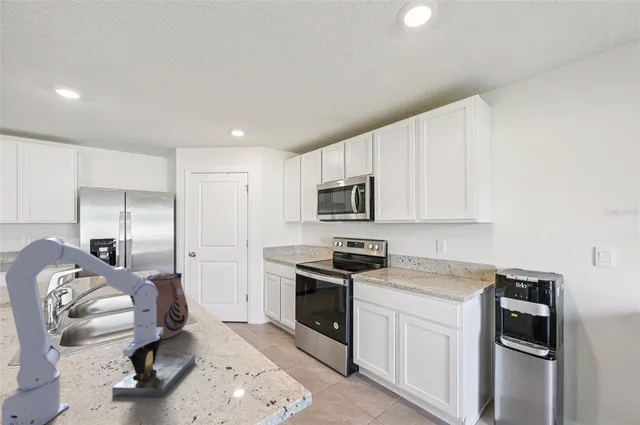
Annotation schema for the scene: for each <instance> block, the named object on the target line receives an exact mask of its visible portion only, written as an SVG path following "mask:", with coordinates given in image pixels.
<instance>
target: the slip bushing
mask: <svg viewBox="0 0 640 425" xmlns="http://www.w3.org/2000/svg"><path fill="white" fill-rule="evenodd" d="M146 349H149V352H148V354H147V357H146V362H145V370H144V373H143V374H137V379H142V380H146V379H149V378H148V377H150V376H151V375H152V374H153V349H152V348H146Z"/></svg>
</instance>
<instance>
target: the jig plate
mask: <svg viewBox="0 0 640 425" xmlns="http://www.w3.org/2000/svg"><path fill="white" fill-rule="evenodd" d="M195 363H196V354H171V353H169V354H163V353H161V354H159V353H157V355H156V359H155V363H154V364H153V374H152V375H151V376H150V377H148V378H146V379H137V374H136V373H135V370H134V369H133V371H132V372H131V371H130V373H129V374H127V375H126V376H125V377H124V378H122V379H121V380H119V382H118V383H116V384H115V385H113V387H112V389H111V390H112V394H111V396H112V398H113V397H115V398H116V397H119V398H120V397H121V398H157V397H158V398H163V397H165V395H167V393H169V391H170V390H171V388H173V387H174V386H175V385H176V383H178V381H180V379H181V378H182V377H183V376H184V375H185V374H186V373H187V372H188V370H189V369H190V368H191V367H192V366H193V365H194V364H195ZM172 386H173V387H172Z"/></svg>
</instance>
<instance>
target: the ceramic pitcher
mask: <svg viewBox="0 0 640 425" xmlns="http://www.w3.org/2000/svg"><path fill="white" fill-rule="evenodd" d="M182 276H183V273H182V272H174V273H170V272H159V273H156V274H151V275H148V276H147V277H146V278H147V280H150V281H151V282H152V283H154V285H155V286H156V288H157V292H158V296H157V298H156V328H157V327H160V328H163V334H162V335H159V336H160V338H163V340H164V339H170V338H172V337H174V336H176V335H177V334H179V333H181V331H182V330H183V328H184V327H185V325H186V324H187V322H188V318H189V308H188V302H187V298H186V295H185V292H184V289H183V288H184V287H183V285H182ZM129 297H130V299H131V302H132V304H133V306H134V307H135V299H134V296H131V295H129Z"/></svg>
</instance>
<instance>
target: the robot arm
mask: <svg viewBox="0 0 640 425" xmlns="http://www.w3.org/2000/svg"><path fill="white" fill-rule="evenodd" d="M57 260H60V261H59V263H58V264H60V265H64V264H66V265H67V264H68V265H69V264H74V265H78V266H79V267H82V268H83V269H85V270H88V271H90V272H93V273H94V274H96V275H99V276H100V277H103V278H105V281H106V282H105V283H106V285H107V286H108V287H110V288H113V289H114V290H117V291H118V292H121V293H122V294H125V295H127V296H130V295H131V296H134V299H135V306H134V307H133V339H132V340H131V341H130V342H129V344H128V345H127V346H126V347H125V348H123V357H127V358H128V359H129V360H130V362H131V364H132V366H133V371H134V370H135V373H136V374H143V373H144V370H145V362H146V357H147V354H148V352H149V349H146V348H152V349H153V364H154V363H155V359H156V355H157V354H158V351H159V348H160V346H161V344H162V343H163V340H164V339H163V338H160V336H159V335H162V334H163V328H160V327H157V328H156V298H157V296H158V292H157V288H156V286H155V285H154V283H152V282H151V281H150V280H147V277H145V276H143V277H142V276H140V275H138V274H137V273H135V272H134V271H132V270H133V269H132V268H131V267H129V266H127V267H124V266H119V267H113V266H112V265H110V264H109V263H107V262H105V261H103V260H102V259H100V258H99V257H98V256H97V257H96V256H95V255H94V254H92V253H90V252H89V251H86V250H85V249H83V248H81V247H80V246H77V245H75V244H73V243H70V242H69V241H68V242H67V241H66V242H65V241H64V240H63V239H62V238H60V237H57V236H47V237H42V238H40V239H36V240H34V241H31V242H30V243H29V244H28V245H26V246H24V247H23V248H22V249H21V250H19V252H18V254H17V256H16V258H15V259H14V261H12V262H13V263H12V264H11V265H10V267H9V268H8V270H7V271H6V273H5V283H6V288H7V293H8V298H9V302H10V306H11V310H12V315H13V321H14V324H15V329H16V333H17V337H18V343H19V347H20V352H19V358H18V359H19V360H18V362H19V371H18V373H17V375H16V382H17V384H18V385H17V388H16V390H15V391H14V392H13V393H11V394H10V395H9V396H8V397H7V398H5V399H4V401H3V403H2V405H1V425H45V424H47V423H48V422H50V421H51V420H52V419H54V418H55V417H56V416H57V415H59V414H61V413H62V412H63V411H64V410H66V409H67V408H68V407H70V403H61V402H60V401H61V399H60V398H61V397H60V396H61V372H60V371H59V370H58V369H57V367H56V366H57V364H58V362H59V361H60V357H61V352H60V350H59V348H57V347H55V345H54V344H53V340H52V339H51V337H50V336H49V331H48V327H47V323H46V318H45V313H44V308H43V303H42V298H41V294H40V288H39V284H38V280H37V279H38V278H37V276H38V275H39V274H41V273H42V272H43V271H44V269H46V267H48V266H50V265H51V264H54V263H55V262H56V261H57Z"/></svg>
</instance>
